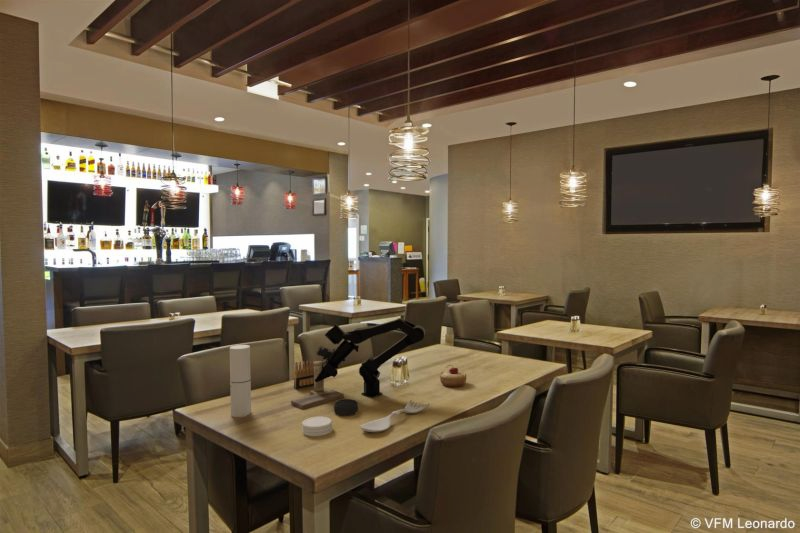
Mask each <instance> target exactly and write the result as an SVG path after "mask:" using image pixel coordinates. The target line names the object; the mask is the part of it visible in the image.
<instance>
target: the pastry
mask: <svg viewBox="0 0 800 533" xmlns="http://www.w3.org/2000/svg"><path fill="white" fill-rule="evenodd" d="M449 366H451V368H450V369H447V368H448V367H449ZM445 369H447V370H444V371H442V372H440V374H439V378H440V383H441V384H442V386H444V387H447V388H460V387H463V386H465V384H466V381H467V373H465V372H463V371H461V370H459V368H458V367H454V366H453V365H452V364H449V365H448V364H447V366H446V367H445Z"/></svg>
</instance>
